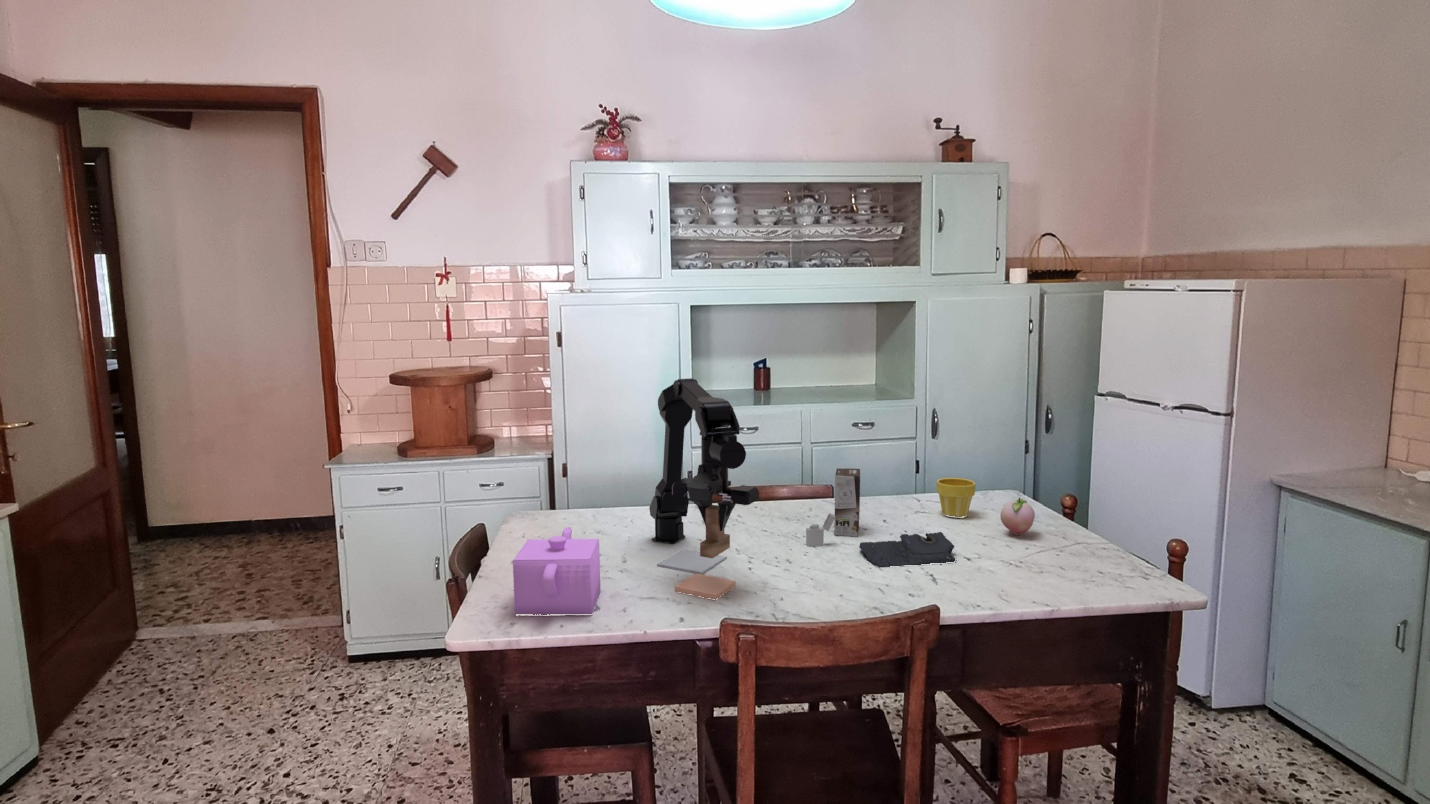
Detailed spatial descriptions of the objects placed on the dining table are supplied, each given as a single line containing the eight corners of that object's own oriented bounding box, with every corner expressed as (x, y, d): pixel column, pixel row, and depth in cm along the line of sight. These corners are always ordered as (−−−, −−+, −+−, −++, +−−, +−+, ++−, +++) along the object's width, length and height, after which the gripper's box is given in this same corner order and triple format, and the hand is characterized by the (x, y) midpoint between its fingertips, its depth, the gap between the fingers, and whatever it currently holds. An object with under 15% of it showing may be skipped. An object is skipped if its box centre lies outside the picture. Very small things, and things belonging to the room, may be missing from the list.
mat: (657, 565, 187) (657, 563, 187) (683, 550, 197) (683, 549, 197) (702, 574, 181) (702, 572, 181) (726, 558, 191) (726, 556, 191)
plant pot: (948, 508, 234) (949, 475, 232) (981, 515, 226) (982, 481, 225) (928, 515, 227) (929, 481, 225) (961, 523, 219) (962, 488, 218)
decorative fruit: (1001, 528, 214) (1003, 491, 213) (1034, 532, 211) (1036, 495, 209) (997, 538, 206) (999, 500, 204) (1031, 542, 202) (1033, 503, 201)
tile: (695, 580, 178) (674, 594, 171) (695, 573, 178) (674, 586, 170) (735, 588, 174) (716, 603, 166) (735, 580, 173) (716, 595, 166)
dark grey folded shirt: (852, 549, 199) (852, 530, 198) (935, 543, 203) (935, 525, 202) (875, 570, 184) (875, 550, 183) (964, 564, 188) (965, 544, 187)
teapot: (604, 579, 178) (603, 518, 176) (588, 626, 154) (586, 556, 152) (536, 580, 178) (533, 519, 176) (509, 627, 154) (506, 557, 152)
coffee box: (858, 537, 207) (860, 476, 205) (833, 535, 209) (834, 475, 206) (859, 526, 216) (860, 468, 214) (835, 525, 217) (836, 467, 215)
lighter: (807, 546, 200) (807, 515, 199) (805, 544, 202) (806, 513, 201) (835, 545, 201) (835, 514, 199) (833, 543, 202) (834, 512, 201)
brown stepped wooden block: (700, 556, 172) (699, 511, 171) (717, 545, 179) (717, 502, 178) (712, 558, 171) (712, 512, 169) (729, 547, 178) (729, 503, 176)
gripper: (657, 462, 169) (658, 533, 172) (736, 471, 161) (736, 546, 163) (684, 452, 179) (685, 520, 181) (760, 460, 170) (760, 531, 173)
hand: (715, 529), depth 174 cm, fingers closed on brown stepped wooden block, 3 cm apart
